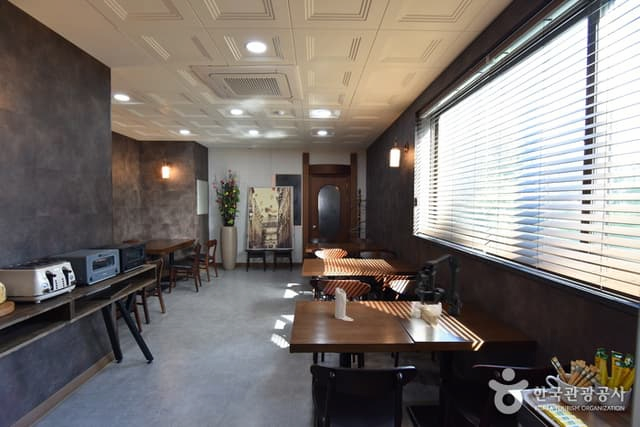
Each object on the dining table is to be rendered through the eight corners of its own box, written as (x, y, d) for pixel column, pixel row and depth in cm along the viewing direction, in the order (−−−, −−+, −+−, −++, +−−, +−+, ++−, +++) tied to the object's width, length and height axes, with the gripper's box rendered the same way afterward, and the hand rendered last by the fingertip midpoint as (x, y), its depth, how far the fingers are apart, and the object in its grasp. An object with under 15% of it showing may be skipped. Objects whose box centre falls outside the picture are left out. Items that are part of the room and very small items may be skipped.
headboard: (440, 314, 227) (440, 302, 227) (444, 316, 221) (444, 304, 221) (412, 315, 223) (412, 303, 223) (416, 318, 217) (416, 305, 217)
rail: (425, 316, 222) (425, 308, 222) (437, 324, 206) (437, 316, 206) (419, 316, 221) (419, 308, 221) (431, 324, 206) (431, 316, 206)
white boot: (350, 322, 207) (351, 291, 207) (332, 317, 215) (333, 287, 215) (356, 319, 213) (356, 289, 212) (338, 314, 221) (339, 285, 221)
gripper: (436, 278, 223) (435, 300, 223) (411, 278, 219) (410, 301, 220) (445, 281, 212) (444, 305, 212) (419, 282, 208) (418, 306, 209)
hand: (429, 304), depth 213 cm, fingers open, 9 cm apart
